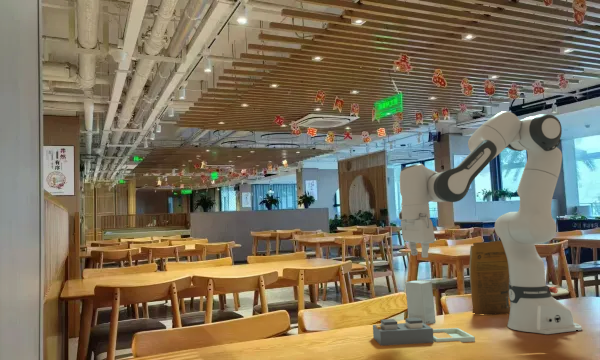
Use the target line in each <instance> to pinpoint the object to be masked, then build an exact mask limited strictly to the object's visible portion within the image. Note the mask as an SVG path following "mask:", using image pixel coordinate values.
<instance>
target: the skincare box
mask: <svg viewBox="0 0 600 360" xmlns="http://www.w3.org/2000/svg"><path fill="white" fill-rule="evenodd" d="M404 285H405V294H406V305H407V306H406V307H407V318H419V319H421V320H422V322H423V323H424V324H426V325H428V324H436V323H437V321H436V313H435V312H436V311H435V302H434V294H433V283H432V281H429V280H428V281H426V280H425V281H424V280H410V281H406V282H405V284H404Z"/></svg>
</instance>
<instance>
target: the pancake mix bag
mask: <svg viewBox="0 0 600 360" xmlns="http://www.w3.org/2000/svg"><path fill="white" fill-rule="evenodd" d="M469 248H470V249H469V250H470V251H469V267H468V268H469V271H468V272H469V281H470V285H469V286H470V292H471V293H470V294H471V295H470V296H471V304H472V311H471V313H475V314H492V315H499V313H507V314H510V313H509V312H510V299H509V284H510V281H509V269H508V261H507V257H506V253H505V250H504V247H503V244H502V241H501V240H493V241H492V240H491V241H483V242H473V243H472V245H470V247H469ZM475 314H474V315H475Z"/></svg>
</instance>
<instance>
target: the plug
mask: <svg viewBox="0 0 600 360" xmlns="http://www.w3.org/2000/svg"><path fill="white" fill-rule="evenodd" d="M404 320H405V322H404V323H406V327H408V328H423V324H422V320H421V319H419V318H408V317H407V318H405V319H404Z"/></svg>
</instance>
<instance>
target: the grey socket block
mask: <svg viewBox="0 0 600 360" xmlns="http://www.w3.org/2000/svg"><path fill="white" fill-rule="evenodd" d="M422 324H423V328H408V327H406V322H403V323H402V322H401V323H397V325H398V329H390V330H383V329H381V323H380V324H373V325H372V335H373V339H374V340H375V341H376V342H377V343H378V344H379V345H380V346H382V347H383V346H395V345H413V344H415V345H416V344H417V345H418V344H433V343H434V342H435V341H434V340H433V336H434V333H433V328H434V327H433V328H432V327H431V326H429V325H428V324H424V323H423V322H422Z"/></svg>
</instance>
